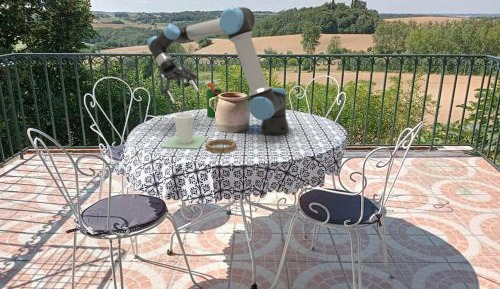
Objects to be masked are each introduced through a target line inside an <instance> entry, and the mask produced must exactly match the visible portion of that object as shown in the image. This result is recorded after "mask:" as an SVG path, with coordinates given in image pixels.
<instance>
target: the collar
mask: <svg viewBox="0 0 500 289" xmlns="http://www.w3.org/2000/svg"><path fill="white" fill-rule="evenodd" d="M217 145H228V146H224V147H221V146H220V147H218V146H217ZM236 148H237V142H236V141H235V140H232V139H228V138H225V139H224V138H219V139H218V138H217V139H212V140H208V141H207V142H206V144H205V150H206V151H208V152H210V153H213V154H214V153H215V154H216V153H217V154H225V153H229V152H233V151H235V150H236Z"/></svg>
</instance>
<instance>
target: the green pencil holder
mask: <svg viewBox="0 0 500 289" xmlns="http://www.w3.org/2000/svg"><path fill="white" fill-rule="evenodd" d="M207 88H210V89H207V90H205V91H206V92H205V93H206V113H207V115H206V116H207V117H208V118H212V119H214V118H216V117H215V112H214V110H213V109H212V108H211V107H209V99H210V98H212V97H215V96H217V95H218V94H221V93H222V89H221V88H219V89H218V88H215V86H214V83H213V82H208V83H207Z"/></svg>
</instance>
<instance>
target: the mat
mask: <svg viewBox="0 0 500 289" xmlns="http://www.w3.org/2000/svg"><path fill="white" fill-rule="evenodd" d="M208 139H209V136H196V135H195V136H193V138H192V142H191V143H187V144H182V143H179V139H178V135H173V136H172V137H171V138H170V139H168V141H166V142H165V143H164V144H163V145H162V146H161V149H179V150H180V149H182V150H199V149H200V148H201V147H202V146H203V145H204V143H205V142H206V141H207V140H208Z"/></svg>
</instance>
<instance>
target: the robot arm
mask: <svg viewBox="0 0 500 289" xmlns="http://www.w3.org/2000/svg"><path fill="white" fill-rule="evenodd" d="M255 24H256V15H255V14H254V12H253V11H252V10H251V9H250V8H248V7H241V6H240V7H238V6H232V7H231V6H230V7H228V8H225V9H224V10H223V11H222V12H221V15H220V17H219V18H215V19H210V20H208V21H203V22H198V23H193V24H190V25H185V26H182V27H178V26H177V25H175V24H173V23H169V24H167V25H166V26H165V27H164V28H163V29H162V31H161V32H160V33H159V35H158V36H156V35H155V36H152V37H149V38H148V39H147V42H146V45H147V47H148V50H149V51H150V53H151V55H152V56H153V57H154V59H155V60H156V63H157V64H158V66H159V67H160V70H161V71H162V73H163V74H159V75H158V77H159V80H160V94H161V95H165V96H166V97H167V99H170V100H171V102H172V104H175V103H176V100H175V99H174V97H173V95H172V94H171V92H170V91H169V87H170V83H171V81H173V80H175V79H177V78H178V77H179V78H183V79H185V80H188V81H190V83H191V85H192V86H193V88H194V89H195V91H196V93H199V92H200V91H199V88H198V82H197V81H196V79H197V74H196V73H193V72H192V71H191V70H189V69H187V68H186V67H185V65H183V64H181V65H180V66H179V67H178V66H177V65H176V63H175V62H174V60H173V58H172V57H171V55H170V53H169V52H168V49H169V48H170V47H171V45H173V44H176V43H177V44H178V43H187V42H190V41H193V40H198V39H202V38H207V37H212V36H217V35H221V34H226V36H227V37H228V39H229V42H232V43H233V45H234V48H235V50H236V53H237V56H238V59H239V62H240V65H241V69H242V71H243V74H244V78H245V80H246V82H247V86H248V88H249V93H248V98H249V100H250V102H249V105H248V110H249V113H250V114H251V115H252V117H253V118H255V119H257V120H260V121H261V124H260V127H259V130H260V133H261V134H264V135H269V136H280V135H282V136H283V135H285V134H289V132H290V126H289V124H288V121H287V115H286V114H287V110H286V109H287V90H286V89H285V88H282V87H280V88H279V87H271V86H270V85H268V84H267V81H266V78H265V75H264V71H263V69H262V66H261V63H260V60H259V57H258V55H257V51H256V47H255V46H254V43H253V42H254V41H253V39H252V35H253V28H254V26H255ZM165 78H166V79H167V80H166V82H165V86H164V79H165ZM164 87H165V88H164Z"/></svg>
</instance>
